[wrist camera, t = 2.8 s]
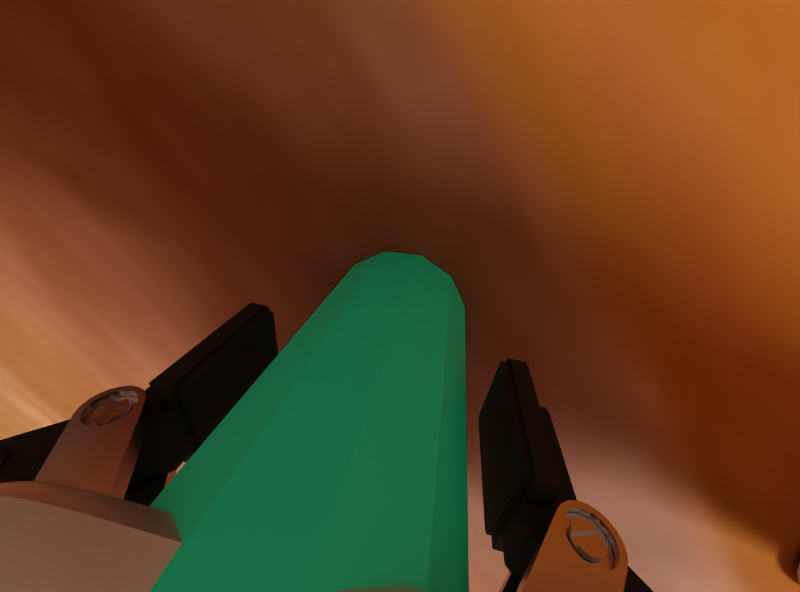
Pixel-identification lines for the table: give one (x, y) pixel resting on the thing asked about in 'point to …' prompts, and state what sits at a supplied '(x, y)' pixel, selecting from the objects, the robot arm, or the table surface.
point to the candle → (339, 451)
